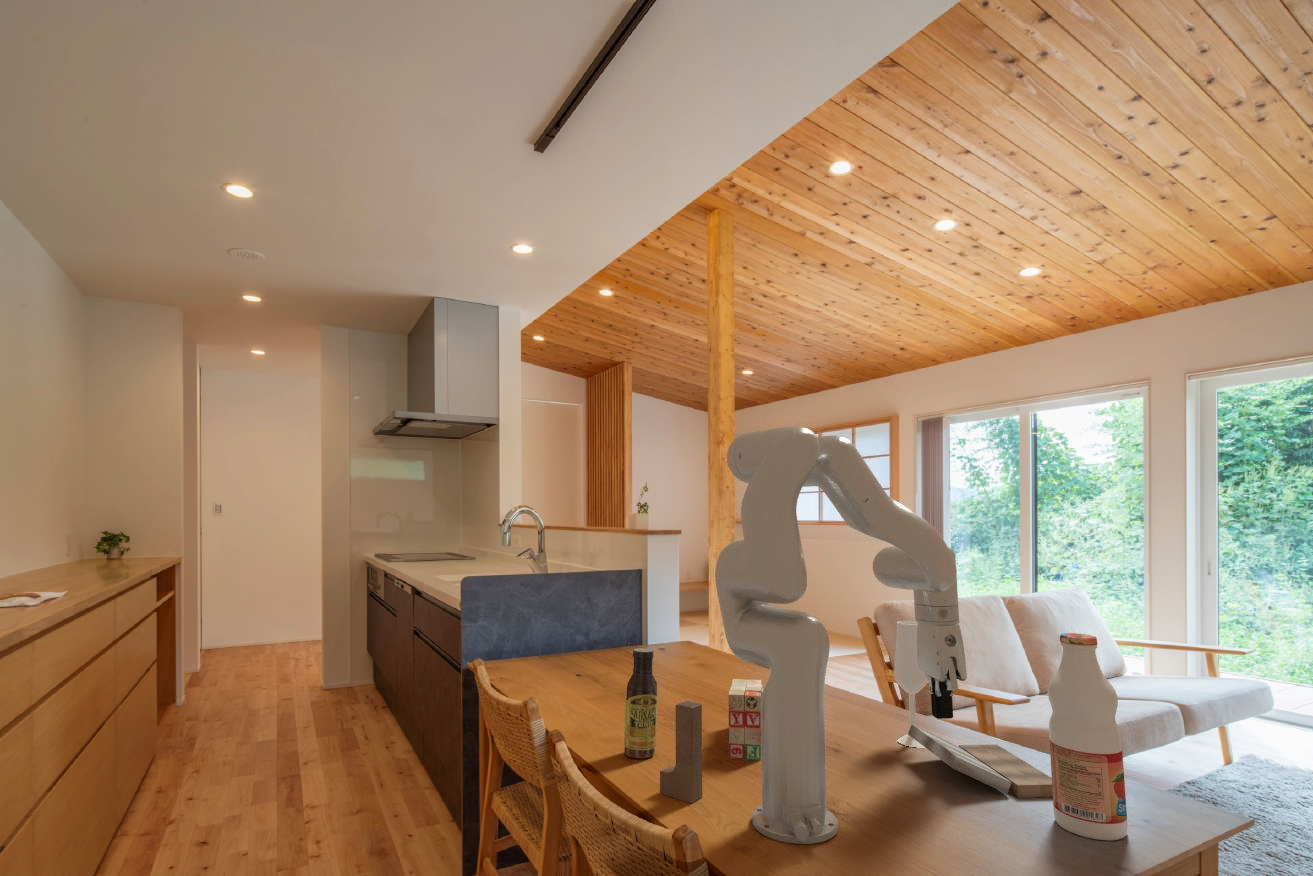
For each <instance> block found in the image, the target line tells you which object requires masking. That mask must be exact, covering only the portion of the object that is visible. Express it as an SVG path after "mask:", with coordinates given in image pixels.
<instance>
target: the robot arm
mask: <svg viewBox="0 0 1313 876" xmlns="http://www.w3.org/2000/svg"><path fill="white" fill-rule="evenodd" d="M726 463H727V467H728V468H729V471H730V472H731V474H732V475H733V476H734V477H735V478H736V479H737V480H739V481H740V482H742V483H746V484H747V487H746V488H745V492H744V494H743V497H742V502H741V507H740V519H741V527H742V534H743V535H742V536H743V539H740V540H735V541H732V542H729V543H728V544H727V545H725V546H724V548H723V549H722V550H721V551H720V554H719V555H718V557H717V560H716V564H715V568H714V570H715V571H714V577H715V580H714V581H715V587H716V594H717V599H718V603H719V610H720V614H721V619H722V625H723V629H724V634H725V638H726V641H727V645H728V647H729V649H730V651H731V652H732V654H733V655H734V656H735V657H736V658H737V659H739V660H741V661H742V662H744V663H747V664H751V665H753V666H758V667H761V668H764V669H768V670H770V675H769V677H768V680H767V681H766V683H765V686H764V687H763V693H762V698H761V748H762V756H761V800H762V802H761V804H760V805H759V806H757V807H756V808H755V809H753V812H752V813H751V815H752V817H751V821H752V822H751V823H752V826H753V827H754V829H756V831H757V832H759V833H760V834H762V835H763V836H764V837H767V838H770V839H772V840H774V841H778V842H783V843H789V844H795V845H797V844H798V845H807V844H808V845H809V844H810V845H811V844H817V843H818V844H819V843H821V842H826V841H828V840H830V839H832V838H833V837H835V836H836V835H837V833H838V831H839V830H838V829H839V825H838V819H837V816H835V815H834V813H832V812H831V811H830V810H828V809H827V804H828V802H827V773H826V771H827V770H826V769H827V768H826V767H827V766H826V763H827V762H826V729H825V726H826V725H825V724H826V723H825V722H826V721H825V684H826V675H827V667H828V662H829V657H830V643H831V642H830V638H829V637H830V636H829V633H828V631H827V629H826V627H825V626H824V624H823V623H822V622H821V621H820V620H819V618H818V619H817V618H816V617H815V616H813V615H812V614H810V613H806V612H804V611H799V610H796V609H789V608H784V607H777V606H776V607H775V606H769V604H776V605H777V604H778V605H788V604H793V603H795V602H798V601H799V600H801V599H802V597H804V594H805V593H806V591H807V587H808V575H807V574H808V573H807V567H806V561H805V557H804V551H803V546H802V545H803V544H802V540H801V535H800V530H799V524H798V516H797V506H798V499H799V496H800V494H801V491H802V489H803V488H807V487H818V488H820V489H821V490H822V491H823V493H824V494H825V496H826V498H828V499H829V501H830V503H831V504H832V505H833V506H834V508H835V510H836V511H837V513H838V514H839V515H840V517H841V518H842V519H843V521H844V522H845V524H846V525H847V526H848V527H849V528H851V529H853V530H856V531H857V532H859V533H861V534H864V535H867V536H869V537H872V538H873V539H877V540H880V541H883V542H886V543H888V544H890V545H893V546H887V547H885V548H883V549H881V550H879V551H878V552H877V554H875V556H874V557H873V561H872V572H873V574H874V577H875V578H876V580H877V581H878V582H879V583H881V584H883V585H884V586H887V587H888V588H889V587H890V588H893V589H901V590H911V591H913V602H914V603H913V604H914V622H918V625H917V655H918V665H919V668H920V670H921V671H923V672H924V674H925V676H926V678H927V679H928V688H929V692H930V703H931V704H930V706H931V715H932V716H933V717H934V718H935V719H936V720H942V719H943V720H945V719H953V718H954V707H953V706H954V705H953V697H954V691H958V689H959V684H958V681H959V682H960V681H961V682H965V681H966V680H967V677H968V674H967V662H966V654H965V647H964V640H963V636H962V631H961V627H960V612H959V595H958V578H957V575H958V574H957V573H958V572H957V571H958V570H957V565H956V564H957V563H956V553H955V551H954V549H953V548H952V547H950V546H948V545H947V543H946V542H945V539H944V538H943V537H942V535H941V534H940V533H939V532H938V530H937V529H936V528H935V527H934V526H933V525H932V524H931V523H930V522H928V521H927V520H926V519H925V518H923V517H921V516H920V515H918V514H917V513H916V512H914V511H913V510H911V509H909V508H908V507H906V506H904V505H903V504H901V503H900V502H898V501H897V500H894V499H893V498H891V497H890V496H889V495H888V493H887V492H886V491H885V489H884V488H883V486H882V484H881V483H880V482H879V480H878V479H877V477H876V476H875V474H874V473H873V471H872V470H871V468H870V466H869V465H868V464H867V462H866V461H865V460H864V458H863V457H862V455H861V454H860V452H859V451H858V449H857V447H856V446H855V445H854V443H853V442H851V440H850V439H848V438H846V437H844V436H841V435H833V434H832V435H822V436H821V435H820V436H816V433H814V432H813V430H810V429H808V428H806V427H803V426H782V427H775V428H769V429H763V430H759V431H758V430H757V431H750V432H746V433H742V434H740V435H738V436H737V437H735V438H734V439H733V440H732V441H731V442H730V444H729V446H728V449H727V453H726Z"/></svg>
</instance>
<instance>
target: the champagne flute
mask: <svg viewBox="0 0 1313 876" xmlns="http://www.w3.org/2000/svg"><path fill="white" fill-rule="evenodd" d="M917 625H918V622H916V621H913V620H902V621H901V620H898V621H897V622H896V634H895V635H896V636H895V637H896V638H895V649H894V651H895V653H894V666H893V667H894V669H893V670H894V671H893V677H894V679H895V682H896V683H897V684H898V686H899V687H900V688H901V689H903V691H904V692H906V693H907V694H908V706H909V707H908V708H909V709H908V712H909V728H910V727H911V725H914V726H916V727H917V718H916V717H917V716H916V694H918V693H919V692H921V691H922V690H923V688H925V686H926V685H928V683H929V681H928V679H927V678H926V676H925V674H924V672H923V671H921V670H920V668H919V665H918V655H917ZM897 741H898V742H899V743H901V744H904V745H905V746H904V747H906V746H909V747H908V748H910V747H917V748H916V749H926V748H925V747H924V746H923V745H921V744H920V743H919V742H917V741H916V740H915V739H913V738H912V737H911V736H909V735H908V733H907V734H906V735H903V736H901V737H899V738H898V740H896V742H897Z"/></svg>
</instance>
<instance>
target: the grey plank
mask: <svg viewBox="0 0 1313 876" xmlns="http://www.w3.org/2000/svg"><path fill="white" fill-rule="evenodd" d="M907 734H908V735H909V736H911V737H912V738H913V739H915V740H916V741H917V742H919V743H920V744H921V745H923V746H924V747H925V748H924V749H927V750H928V751H929V752H931V753H932V754H933V755H935V756H936V757H938V758H939V759H940V761H942V762H944V763H945V764H946V765H948V766H949V767H950V768H951V769H953V770H956V771H957V772H960V773H962V774H964V775H966V776H969V777H970V778H972V779H975V780H977V781H979V782H981V783H983V784H985V785H987V786H989V787H992V788H994V789H996V790H997V791H1000V792H1003V793H1004V794H1008V793H1009V788H1010V785H1011V783H1012V782H1010V781H1009V780H1007V779H1006V778H1004V777H1003V776H1001V775H1000V774H999V773H997V772H996V771H994V770H993V769H991V768H990V767H988V766H987V765H985V764H984V763H982V762H981V761H979V760H978V759H976V758H975V757H974V756H972V755H971V754H969V753H968V752H966V751H965V750H963V749H962V748H960V747H959V745H957V744H955V743H952V742H951V741H948V740H946V739H943V738H942V737H940V736H938V735H935V734H934V733H931V732H929V731H927V730H924V729H923V728H921V727H919V726H917V725H916V726H914V725H911V727H910V726H909V730H908V733H907Z"/></svg>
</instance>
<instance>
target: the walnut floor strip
mask: <svg viewBox="0 0 1313 876" xmlns="http://www.w3.org/2000/svg"><path fill="white" fill-rule="evenodd" d="M958 746H959V747H960V748H962V749H963V750H965V751H966V752H968V753H969V754H971V755H972V756H974V757H975V758H976V759H978V760H979V761H981V762H982V763H984V764H985V765H987V766H988V767H990V768H991V769H993V770H994V771H996V772H997V773H999V774H1000V775H1001V776H1003V777H1004V778H1006V779H1007V780H1009V781H1010V782H1012V783H1011V785H1010V788H1009V791H1008V793H1011V794H1013V796H1015V797H1016V798H1017V799H1027V798H1028V799H1033V798H1035V797H1042V798H1053V791H1052V776H1051V775H1050V776H1049V775H1048V774H1046V773H1045V772H1043V771H1041V770H1040V769H1038V768H1036V767H1035V766H1032V765H1031V764H1030V763H1028V762H1027V761H1025V760H1023V759H1021V758H1020V757H1018V756H1016V755H1015V754H1013V753H1012V752H1010V751H1008V750H1007V749H1005V748H1003V747H1002V746H1000V745H999V744H995V743H994V744H993V743H992V744H991V743H989V744H958Z"/></svg>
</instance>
